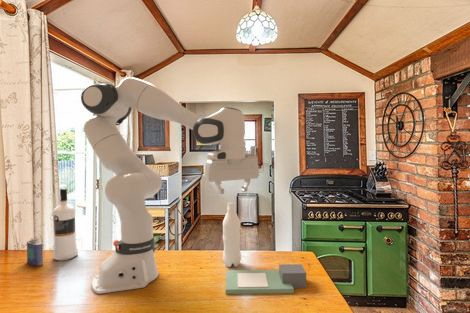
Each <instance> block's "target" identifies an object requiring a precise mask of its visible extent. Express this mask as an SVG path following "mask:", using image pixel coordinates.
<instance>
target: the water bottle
mask: <svg viewBox="0 0 470 313" xmlns="http://www.w3.org/2000/svg"><path fill="white" fill-rule="evenodd" d="M236 209H237V208H236V202H234V201H233V202H232V201H231V202H230V201H229V202H227V208H226V210H227V211H226V213H225V216H224V219H223V221H222V240H223V253H222V260H223V264H225V266H226V267H227V268H231V267H232V266H234V267H238V266H239V265H240V263H241V260H242V254H241V248H240V246H241V245H240V244H241V239H242V238H241V237H242V236H241V220H240V217H239V216H238V214H237V212H236V211H237V210H236Z"/></svg>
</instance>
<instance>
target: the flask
mask: <svg viewBox="0 0 470 313" xmlns="http://www.w3.org/2000/svg"><path fill="white" fill-rule="evenodd" d="M26 251H27V252H26V254H27V255H26V263H27V264H28V265H31V266H33V267H41V266H44V259H43V242H38V241H37V237H35V238H32V237H31V238H30V240H27V241H26Z"/></svg>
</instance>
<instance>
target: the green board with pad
mask: <svg viewBox="0 0 470 313" xmlns="http://www.w3.org/2000/svg"><path fill="white" fill-rule="evenodd" d="M295 288H297V289H298V288H300V289H302V288H305V289H306V288H307V272H306V270H305V269H304V266H303V265H302V264H299V263H298V264H297V263H296V264H291V263H290V264H279V265H278V269H246V270H245V269H243V270H241V269H240V270H238V269H236V270H235V269H234V270H226V274H225V295H244V294H245V295H249V294H250V295H252V294H253V295H254V294H255V295H256V294H257V295H259V294H260V295H261V294H262V295H263V294H268V295H269V294H294V291H295Z"/></svg>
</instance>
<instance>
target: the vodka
mask: <svg viewBox="0 0 470 313" xmlns="http://www.w3.org/2000/svg"><path fill="white" fill-rule="evenodd" d="M59 199H60V204H58V205H57V206H56V207H55V208H54V209H53V210H52V219H53V241H54V242H53V243H54V244H53V245H54V247H53V248H54V249H53V253H52V254H53V255H52V258H53V260H56V261H67V260H71V259H73V258H74V259H75V257H77V256H78V253H79V249H78V246H77V241H76V240H77V238H76V237H77V235H76V234H77V232H76V208H75V207H74V206H73V205H72V204H71V203H70V204H69V203H68V189H67V188H60V189H59Z"/></svg>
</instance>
